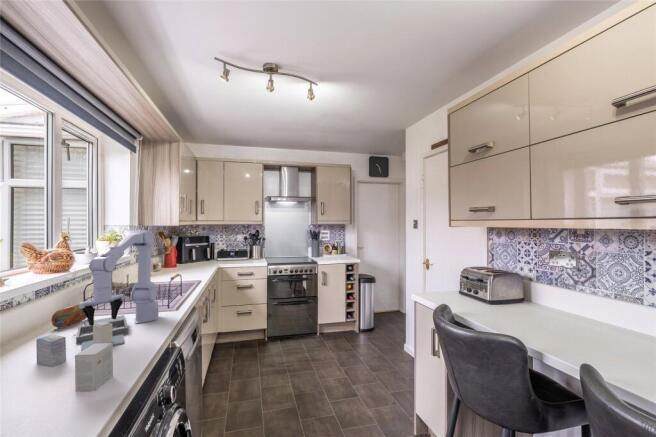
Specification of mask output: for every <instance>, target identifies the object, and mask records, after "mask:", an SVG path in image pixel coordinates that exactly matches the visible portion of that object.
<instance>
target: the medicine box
mask: <svg viewBox="0 0 656 437" xmlns="http://www.w3.org/2000/svg"><path fill="white" fill-rule="evenodd" d="M66 342H67V340H66V336H61V335H56V334H48V335H44V336H41V337H39V338H36V343H35V345H36V364H37V365H42V366H46V367H50V368H53V367H56V366H58V365H60V364H62V363H63V364H64V363H66V361H67V346H66V345H67V343H66Z"/></svg>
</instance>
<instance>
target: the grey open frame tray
mask: <svg viewBox="0 0 656 437" xmlns="http://www.w3.org/2000/svg"><path fill="white" fill-rule="evenodd" d="M103 321H105V322H108V323H111V324H112V328H116V327H121V326H123V327H121V328H116V329H112V336H114V335H119V334H123V335H126V334H128V333H129V332H128V331H129V327H128V324H127V320H126V318H125V315H124V314H121V315H117V317H116V319H112V317H111V316H110V317H105V318H100V319H94V324H95V323H99V322H103ZM91 332H93V325H92V326H91V325H89V322H88V320H87V321H86V319H85V320H82V322H79V326H78V328H77V332H76V336H75V337H76V338H75V341H76V343H75V344H76V345H79V344H82V342H84V341H89V340H93V333H91ZM85 333H90V334H85ZM81 334H85V335H81Z"/></svg>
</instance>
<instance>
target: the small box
mask: <svg viewBox="0 0 656 437" xmlns="http://www.w3.org/2000/svg"><path fill="white" fill-rule="evenodd" d="M113 348H114V346H113V343H99V344H93V345H91V346H90V347H88V348H86V349H85V350H83V351H81V350H80V351H79V352H78V353H77V354H75V355H74V376H75V378H74V384H75V386H74V387H75V390H74V391H75V392H76V393H77V392H78V391H80V392H94V391H93V390H95V391H97V390H98V389H99V388H100V387H102V386H103V385H104V384H105V383H106V382H108V381H109V380H110V379H112V377H113V376H114V356H113V354H114V353H113V352H114V350H113Z"/></svg>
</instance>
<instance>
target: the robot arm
mask: <svg viewBox="0 0 656 437" xmlns="http://www.w3.org/2000/svg"><path fill="white" fill-rule="evenodd" d="M131 246H133V247H134V248H136V249H137V250H138V260H137V261H138V262H137V263H138V266H137V268H138V269H137V282H136V283H134V285H133V286H132V289H131V292H130V299H131V300H132V301H133V303H134V304H135V318H133V320H134V324H141V323H147V322H151V321H152V322H153V321H157V320H159V302H158V300H157V297H158V291H157V284H156V283H154V282H153V281H151V272H152V270H151V269H152V267H151V266H152V262H151V261H152V247H154V233H153V232H152V231H151V230H149V229H147V230H132V229H131V230H127V232H126V233H124V237H123V239H121V241H119V243H118V244H117V245H110V246H109V247H108V249H107V250H106V251H104V252H102V253H101V255H99V256H97V257H94V258H92V260H90V262H89V265H88V269H89V270H90V272H91V273H90V274H91V276H92V278H93V279H92V280H93V281H92V282H93V286H92V289H93V292H92V293H93V298H92V299H88V300H86V301H81V302H79V303H78V305H79V308H81V309H82V310H83V312H84V313H85V315H86V317H87V318H86V319H87V321H88V322H89V325H91V326H92V325H94V320H95V311H96V308H95V306H97V305H102V304H107V303H110V309H111V310H110V311H111V316H110V317H112V319H116V317H117V316H118V312H119V309H120V308H121V306H122V305H123V304H124V303H123V301H124V300H125V294H122V293H120V294H113V292H112V290H113V287H112V283H113V282H112V279H113V278H112V277H113V276H112V271H113V270H114V269H115V267H116V264H117V262H118V261H119V260H120V259H121V258H122V257H123V256H124V255H125V251H126V250H128V249H129V248H130V247H131ZM93 306H94V307H93Z"/></svg>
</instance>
